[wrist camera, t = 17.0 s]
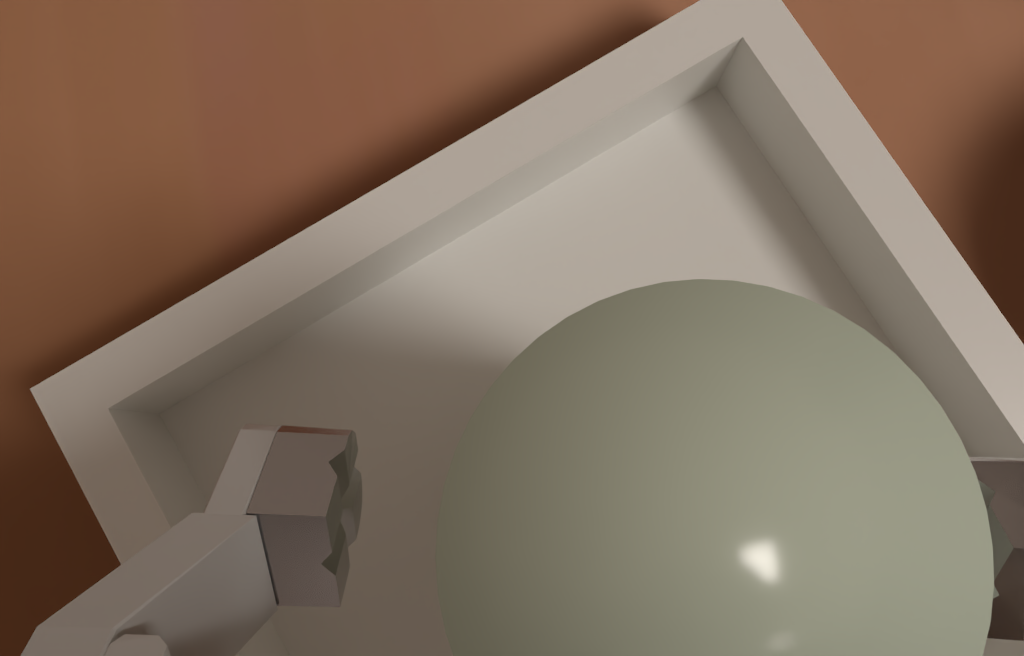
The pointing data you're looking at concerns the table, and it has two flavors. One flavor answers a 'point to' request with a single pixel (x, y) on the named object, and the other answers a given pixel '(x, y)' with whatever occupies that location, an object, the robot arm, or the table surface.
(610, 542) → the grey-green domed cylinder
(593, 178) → the tray
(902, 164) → the table surface
